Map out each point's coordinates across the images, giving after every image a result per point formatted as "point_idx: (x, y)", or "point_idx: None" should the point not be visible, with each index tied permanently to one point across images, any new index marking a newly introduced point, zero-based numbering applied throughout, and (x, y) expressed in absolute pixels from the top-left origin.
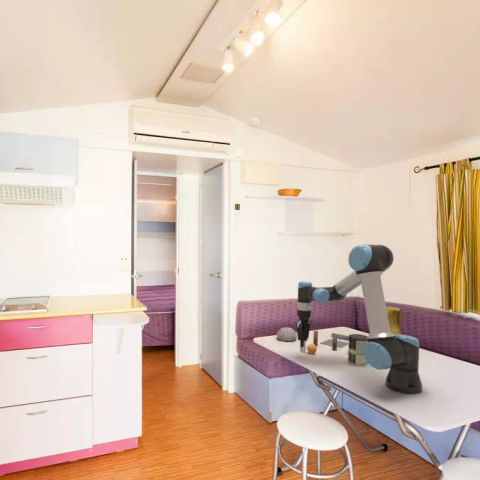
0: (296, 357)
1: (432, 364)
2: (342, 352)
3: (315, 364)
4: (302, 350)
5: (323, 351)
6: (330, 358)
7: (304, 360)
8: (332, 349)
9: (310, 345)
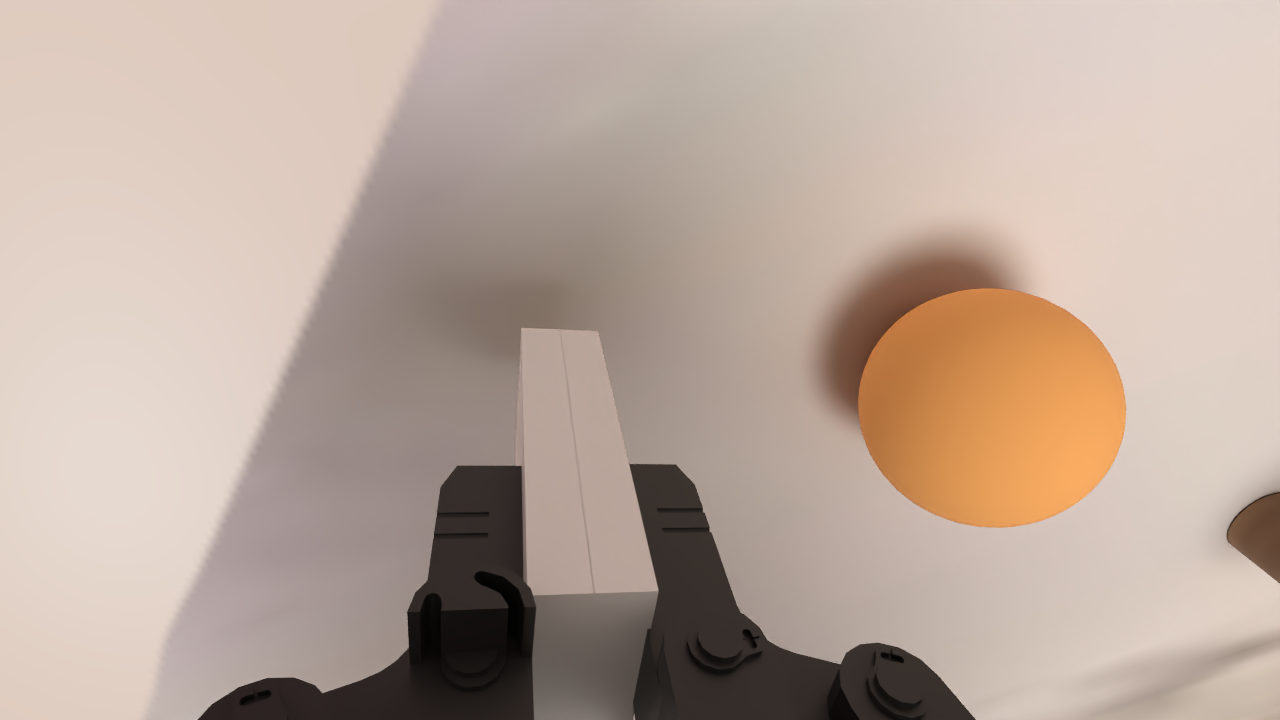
0: (436, 224)
1: None
2: (1162, 626)
3: (326, 652)
4: (517, 433)
5: (1140, 439)
6: (794, 649)
7: (376, 446)
8: (1262, 512)
9: (972, 463)
